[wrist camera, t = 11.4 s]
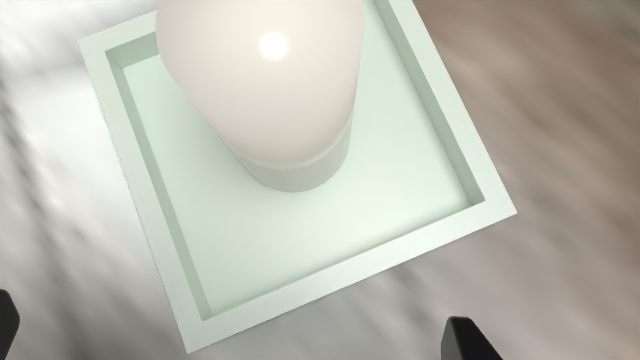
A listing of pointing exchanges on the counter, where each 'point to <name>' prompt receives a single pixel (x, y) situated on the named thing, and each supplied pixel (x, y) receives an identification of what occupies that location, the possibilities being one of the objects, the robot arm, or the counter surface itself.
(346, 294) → the counter surface
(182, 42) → the canister
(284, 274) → the tray
